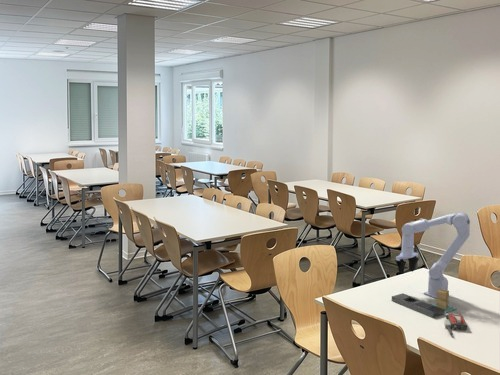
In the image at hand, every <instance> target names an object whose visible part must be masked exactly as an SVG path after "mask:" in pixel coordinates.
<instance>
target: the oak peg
mask: <svg viewBox="0 0 500 375" xmlns="http://www.w3.org/2000/svg"><path fill="white" fill-rule="evenodd" d="M449 296H450V291H449V289H448V290H443V289H439V290H438V291H437V298H436V303H435V304H436V306H437V307H440V308H442V309H446V308H448V306H449Z"/></svg>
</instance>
